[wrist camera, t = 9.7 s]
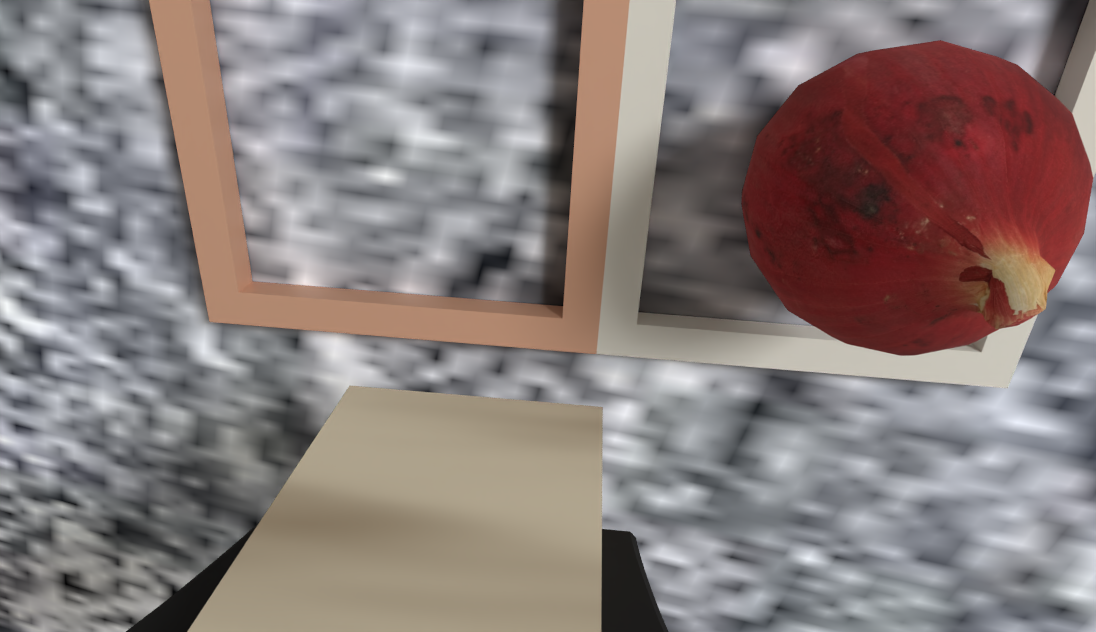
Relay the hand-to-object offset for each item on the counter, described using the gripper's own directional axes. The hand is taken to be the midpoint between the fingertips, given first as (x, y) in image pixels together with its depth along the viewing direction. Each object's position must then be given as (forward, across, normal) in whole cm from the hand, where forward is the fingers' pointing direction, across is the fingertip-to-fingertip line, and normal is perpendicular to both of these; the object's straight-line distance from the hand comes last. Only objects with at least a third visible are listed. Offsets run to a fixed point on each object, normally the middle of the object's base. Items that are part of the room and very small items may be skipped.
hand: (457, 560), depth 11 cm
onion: (+9, -8, -5) cm, 13 cm away
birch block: (+2, 0, 0) cm, 2 cm away
